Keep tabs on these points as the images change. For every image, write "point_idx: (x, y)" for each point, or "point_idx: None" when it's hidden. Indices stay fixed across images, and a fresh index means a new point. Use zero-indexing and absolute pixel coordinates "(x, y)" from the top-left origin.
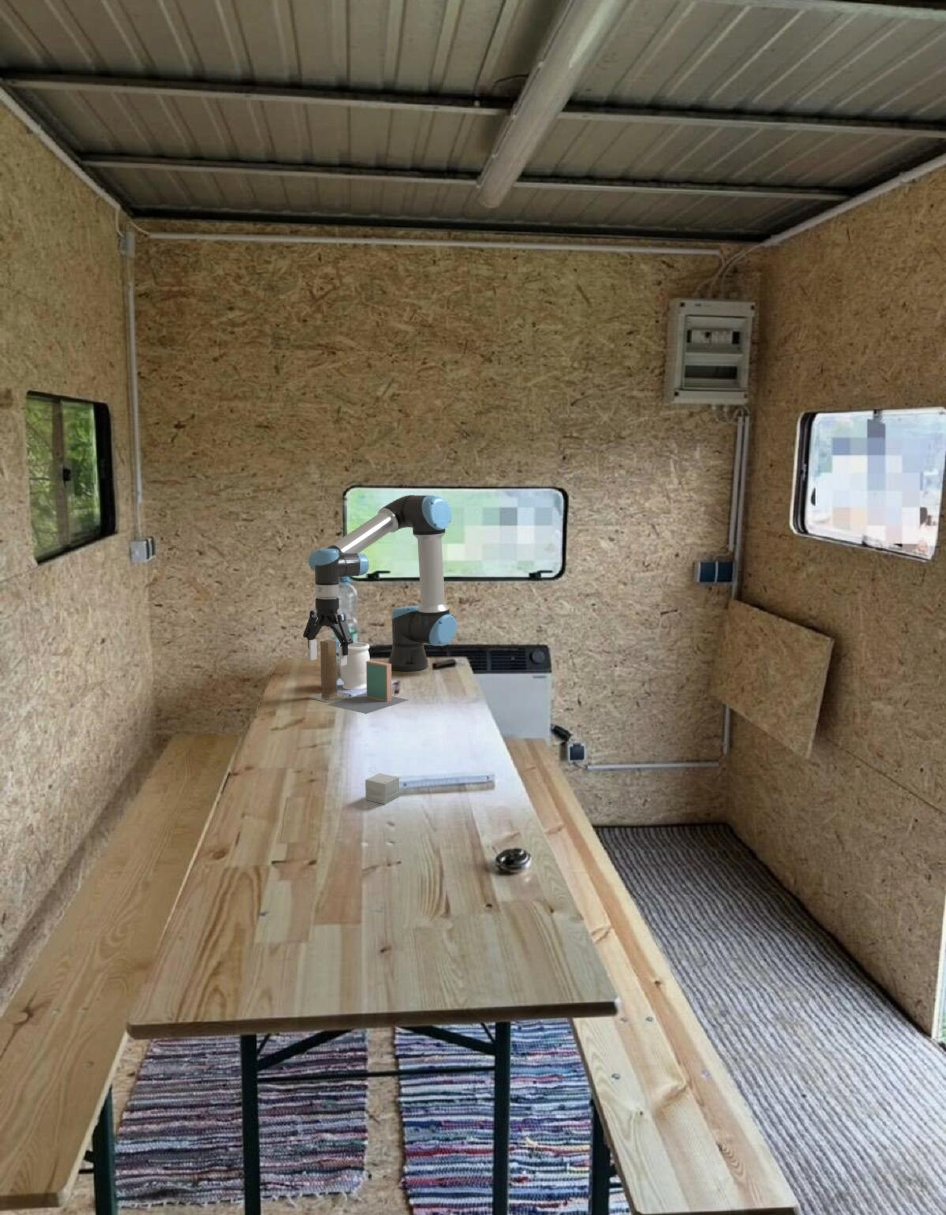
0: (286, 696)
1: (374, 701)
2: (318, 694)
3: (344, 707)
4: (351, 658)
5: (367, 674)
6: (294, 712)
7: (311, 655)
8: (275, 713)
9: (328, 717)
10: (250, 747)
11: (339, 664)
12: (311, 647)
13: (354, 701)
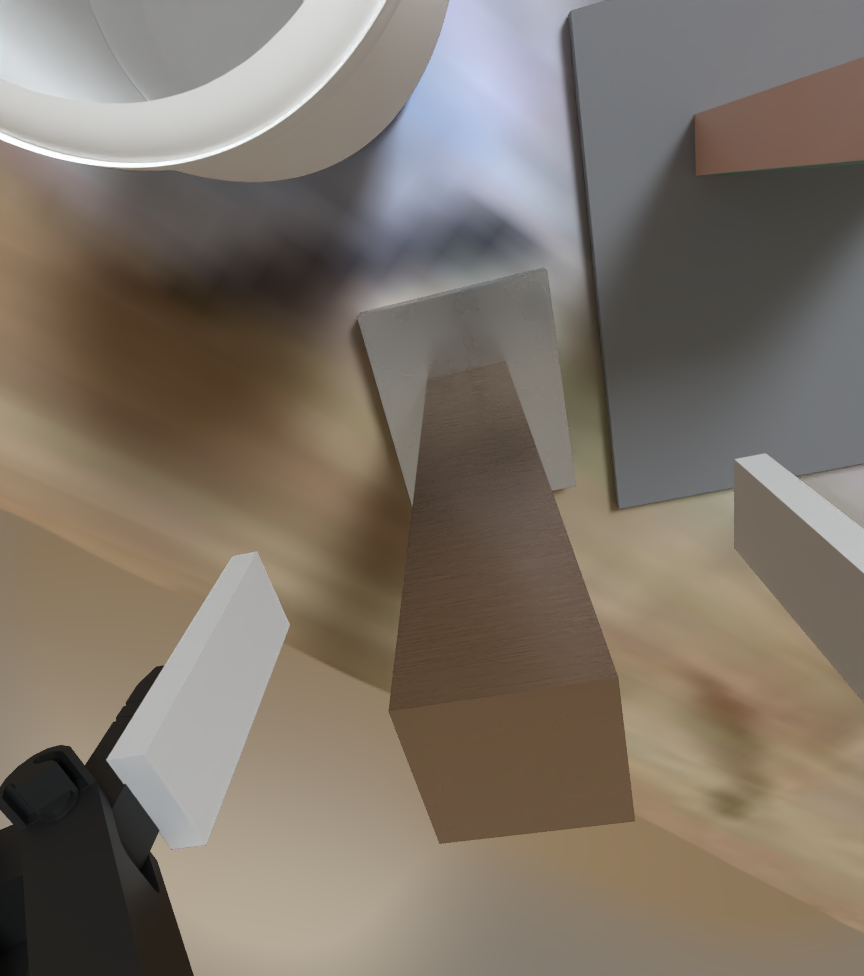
0: (264, 564)
1: (845, 204)
2: (399, 448)
3: None
4: (378, 82)
5: (838, 163)
6: None
7: (272, 657)
8: None
9: None
10: (827, 909)
11: (747, 556)
12: (237, 736)
13: (709, 333)
